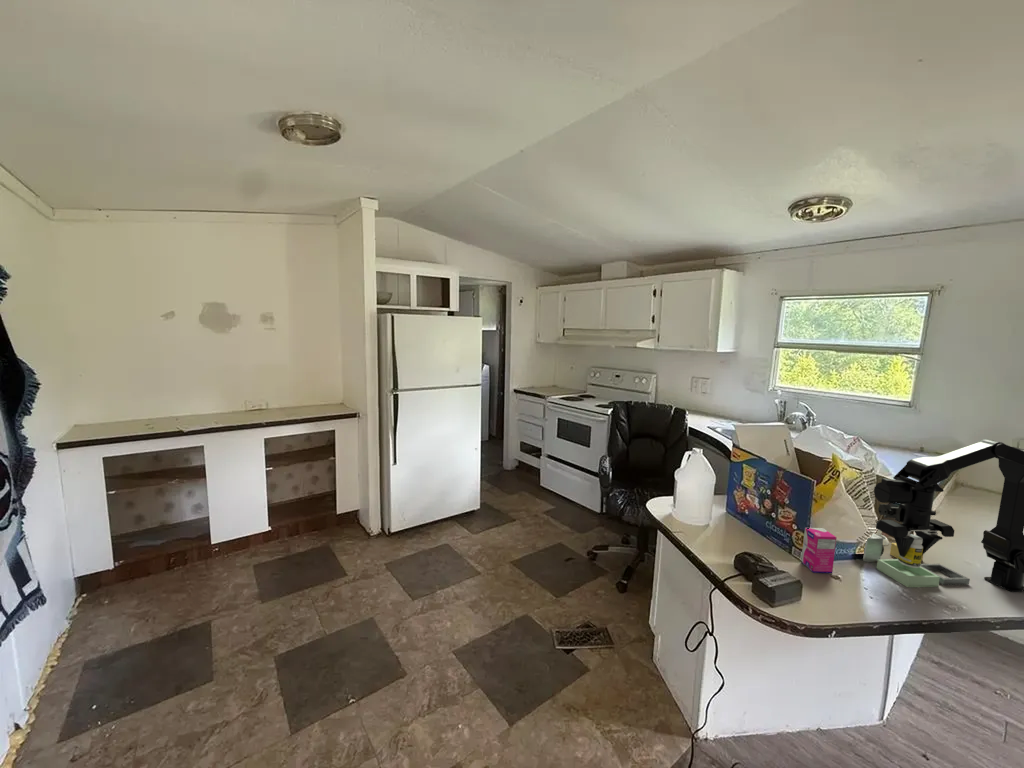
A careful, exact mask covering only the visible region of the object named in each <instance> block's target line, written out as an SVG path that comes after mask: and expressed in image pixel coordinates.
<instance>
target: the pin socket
mask: <svg viewBox="0 0 1024 768" xmlns="http://www.w3.org/2000/svg"><path fill="white" fill-rule="evenodd" d="M920 567H922V568H924V569H926V570H928V571H930V572H932V573H934V574H935V575H937V576H939V577H940V580H939V584H940V585H942V586H969V585H970V581H971V580H970V578H968V577H966V576H965V575H962V574H960V573H959V572H957V571H955V570H952V569H951V568H949V567H947V566H945V565H943V564H940V563H921V564H920ZM934 571H936V572H937V571H938V572H940V573H943V574H944V575H946V576H948V577H943V576H941V575H939V574H937V573H935V572H934Z"/></svg>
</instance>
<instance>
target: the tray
mask: <svg viewBox="0 0 1024 768" xmlns="http://www.w3.org/2000/svg"><path fill="white" fill-rule="evenodd" d="M876 570H878V571H879V572H881V573H882V574H885V575H886V576H888V577H890V578H891V579H893V580H894V581H896V582H898V583H900V584H901V585H903V586H905V588H906V587H907V588H938V587H939V584H940V583H939V580H940V577H939V576H940V575H939V576H937V575H938V574H937V575H935V574H936V573H935V572H934V573H935V574H934V573H932V572H933V571H932V572H930V571H928V570H926V569H924V568H922V567H919V568H912V567H908V566H905V565H903V564H901V563H900V562H899V561H898V558H894V559H893V558H890V559H888V558H887V559H886V558H885V559H884V558H882V559H881V558H880V559H878V562H877V563H876Z"/></svg>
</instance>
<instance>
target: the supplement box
mask: <svg viewBox="0 0 1024 768" xmlns="http://www.w3.org/2000/svg"><path fill="white" fill-rule="evenodd" d="M807 528H809V529H807ZM802 543H803V544H802V551H801V558H802V559H801V561H802V563H801V564H803V565H804V566H805V565H806V566H807V567H808V568H807V567H806V566H805V567H806V568H807V569H809V571H811V572H812V573H813V574H829V573H832V574H833V569H834V561H835V555H836V545H837V536H835V535H834V534H832V533H831V532H830V531H828V530H826V529H825V528H824V527H822V528H821V527H804V533H803V542H802ZM801 561H800V562H801Z"/></svg>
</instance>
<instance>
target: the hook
mask: <svg viewBox="0 0 1024 768" xmlns="http://www.w3.org/2000/svg"><path fill="white" fill-rule="evenodd" d="M876 535H878V536H880V537H882V538H883V544H882V545H883V546H889V545H890V541H889V539H888V537H886V535H883V531H881V530H878V531H877V533H876Z"/></svg>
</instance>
